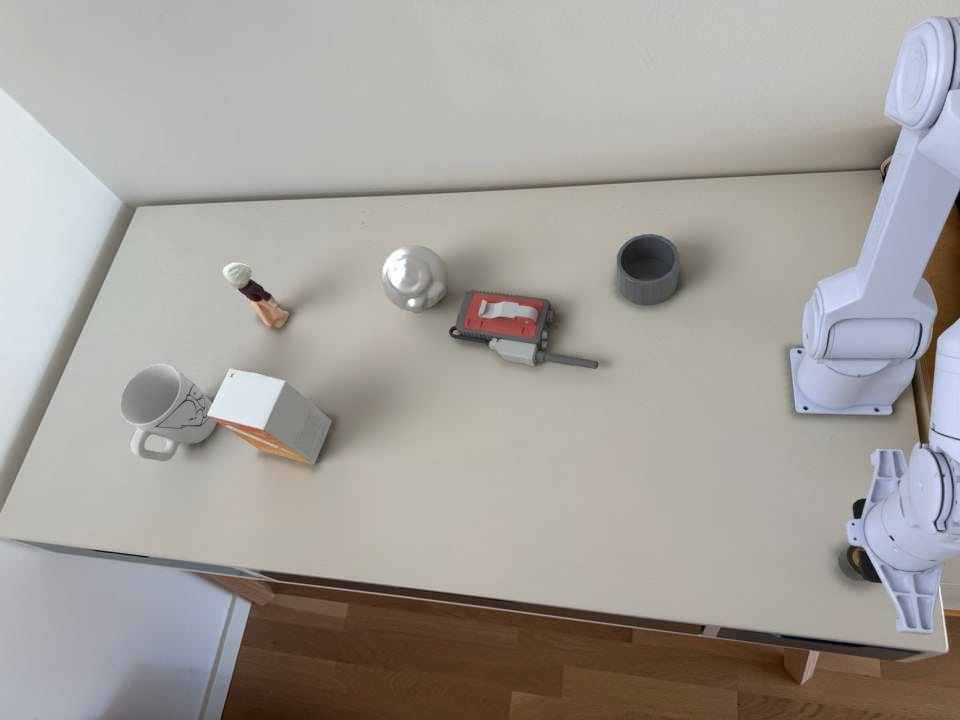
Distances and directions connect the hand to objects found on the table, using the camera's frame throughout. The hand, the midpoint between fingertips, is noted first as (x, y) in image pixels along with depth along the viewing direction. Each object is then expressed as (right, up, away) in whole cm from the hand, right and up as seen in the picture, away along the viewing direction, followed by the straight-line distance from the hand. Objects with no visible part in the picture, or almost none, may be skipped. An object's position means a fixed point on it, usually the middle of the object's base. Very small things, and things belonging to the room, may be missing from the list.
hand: (869, 555), depth 60 cm
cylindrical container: (-14, +28, +24) cm, 40 cm away
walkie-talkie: (-30, +21, +24) cm, 44 cm away
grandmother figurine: (-65, +24, +35) cm, 78 cm away
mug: (-75, +8, +29) cm, 81 cm away
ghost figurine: (-44, +27, +31) cm, 60 cm away
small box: (-60, +8, +25) cm, 65 cm away
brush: (+1, -2, +4) cm, 4 cm away
